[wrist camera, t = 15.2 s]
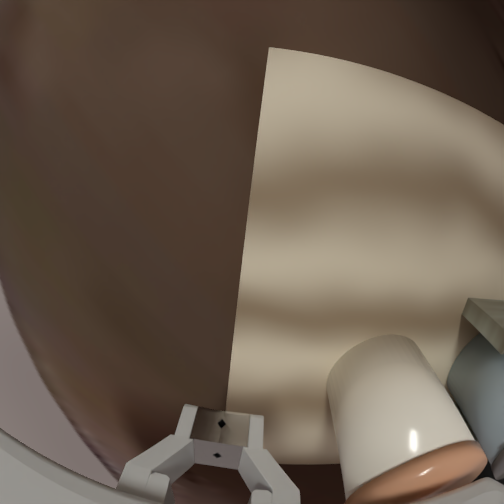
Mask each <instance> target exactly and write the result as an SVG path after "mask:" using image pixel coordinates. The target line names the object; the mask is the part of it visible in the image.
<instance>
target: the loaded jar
mask: <svg viewBox="0 0 504 504" xmlns="http://www.w3.org/2000/svg"><path fill="white" fill-rule="evenodd" d="M447 387H448V389H449V391H450V393H451V394H452V396H453V397H454V399H455V401H456V402H457V404H458V406H459V407H460V409H461V411H462V413H463V414H464V416H465V418H466V419H467V421H468V423H469V425H470V426H471V428H472V430H473V432H474V434H475V435H476V437H477V439H478V441H479V443H480V445H481V447H482V449H483V450H484V452H485V454H486V456H487V458H488V460H489V462H490V464H491V471H492V473H493V475H494V477H495V479H496V480H501V479H503V478H504V354H500V353H499V352H498V350H497V349H496V348H495V347H494V346H493V345H492V344H491V343H490V342H489V341H488V340H487V339H486V338H485V337H484V336H483V335H482V334H481V333H479V334H478V335H477V336H476V337H474V338H473V339H472V340H471V341H470V342H469V343H468V344H467V345H466V346H465V347H464V348H463V350H462V351H461V352H460V354H459V355H458V356H457V358H456V359H455V361H454V363H453V365H452V367H451V369H450V371H449V374H448V378H447Z"/></svg>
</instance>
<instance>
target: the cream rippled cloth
mask: <svg viewBox="0 0 504 504" xmlns="http://www.w3.org/2000/svg"><path fill="white" fill-rule="evenodd" d="M479 333H481V334H482V335H483V336H484V337H485V338H486V339H487V340H488V341H489V342H490V343H491V344H492V345H493V346H494V347H495V348H496V349H497V350H498V352H499V353H500V354H504V125H503V124H501V123H500V122H498V121H496V120H495V119H493V118H491V117H489V116H488V115H486V114H484V113H482V112H480V111H478V110H477V109H475V108H473V107H471V106H469V105H467V104H465V103H463V102H461V101H459V100H457V99H454V98H452V97H450V96H448V95H446V94H443V93H441V92H439V91H436V90H434V89H432V88H429V87H427V86H424V85H422V84H419V83H416V82H414V81H411V80H408V79H406V78H403V77H400V76H397V75H394V74H391V73H388V72H385V71H381V70H378V69H375V68H371V67H368V66H364V65H361V64H357V63H353V62H349V61H345V60H341V59H336V58H332V57H327V56H322V55H317V54H311V53H306V52H300V51H293V50H286V49H279V48H270V47H269V53H268V60H267V68H266V75H265V83H264V90H263V98H262V106H261V113H260V121H259V129H258V137H257V145H256V153H255V161H254V169H253V177H252V185H251V193H250V201H249V209H248V217H247V226H246V234H245V242H244V251H243V259H242V268H241V277H240V285H239V294H238V303H237V311H236V320H235V329H234V338H233V347H232V356H231V365H230V374H229V384H228V393H227V402H226V411H229V412H237V413H246V414H253V415H262V416H264V435H263V449H267V450H268V451H269V453H270V454H271V455H272V457H273V458H274V459H275V461H276V462H277V463H278V464H340V459H339V453H338V447H337V441H336V436H335V430H334V425H333V419H332V414H331V409H330V404H329V399H328V394H327V387H326V384H327V378H328V375H329V373H330V370H331V369H332V367H333V365H334V364H335V363H336V362H337V360H338V359H339V358H340V357H341V356H342V355H343V354H345V353H346V352H347V351H348V350H350V349H351V348H352V347H354V346H356V345H357V344H359V343H361V342H363V341H365V340H368V339H370V338H373V337H377V336H381V335H391V334H394V335H401V336H405V337H408V338H410V339H411V340H413V341H414V342H415V343H416V344H417V346H418V347H419V349H420V350H421V352H422V353H423V355H424V356H425V358H426V359H427V361H428V362H429V364H430V365H431V367H432V368H433V370H434V371H435V373H436V375H437V376H438V378H439V379H440V381H441V383H442V384H443V386H444V387H445V389H446V391H447V392H448V394H449V396H450V397H451V399H452V401H453V402H454V404H455V406H456V407H457V409H458V411H459V413H460V414H461V416H462V418H463V420H464V421H465V423H466V425H467V427H468V429H469V430H470V432H471V434H472V436H473V438H474V440H475V441H477V442H479V441H478V439H477V437H476V435H475V434H474V432H473V430H472V428H471V426H470V425H469V423H468V421H467V419H466V418H465V416H464V414H463V413H462V411H461V409H460V407H459V406H458V404H457V402H456V401H455V399H454V397H453V396H452V394H451V393H450V391H449V389H448V387H447V378H448V374H449V371H450V369H451V367H452V365H453V363H454V361H455V359H456V358H457V356H458V355H459V354H460V352H461V351H462V350H463V348H464V347H465V346H466V345H467V344H468V343H469V342H470V341H471V340H472V339H473V338H474V337H476V336H477V335H478V334H479Z"/></svg>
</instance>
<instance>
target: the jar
mask: <svg viewBox="0 0 504 504" xmlns="http://www.w3.org/2000/svg"><path fill="white" fill-rule="evenodd" d="M326 387H327V394H328V399H329V404H330V409H331V414H332V419H333V425H334V430H335V436H336V441H337V447H338V453H339V459H340V465H341V471H342V477H343V484H344V490H345V497H346V501H345V503H344V504H411V503H414V502H418V501H422V500H425V499H428V498H432V497H435V496H438V495H441V494H444V493H447V492H449V491H452V490H455V489H457V488H460V487H463V486H465V485H467V484H470V483H471V482H472V481H473V480H474V479H476V478H477V476H478V475H479V474H480V473H481V472H482V471H483V469H484V468H485V466H486V464H487V460H488V459H487V457H486V455H485V453H484V451H483V449H482V447H481V445H480V443H479V442H477V441H475V440H474V438H473V436H472V434H471V432H470V430H469V429H468V427H467V425H466V423H465V421H464V420H463V418H462V416H461V414H460V413H459V411H458V409H457V407H456V406H455V404H454V402H453V401H452V399H451V397H450V396H449V394H448V392H447V391H446V389H445V387H444V386H443V384H442V383H441V381H440V379H439V378H438V376H437V375H436V373H435V371H434V370H433V368H432V367H431V365H430V364H429V362H428V361H427V359H426V358H425V356H424V355H423V353H422V352H421V350H420V349H419V347H418V346H417V344H416V343H415V342H414V341H413V340H411V339H410V338H408V337H405V336H401V335H394V334H391V335H381V336H377V337H373V338H370V339H368V340H365V341H363V342H361V343H359V344H357V345H356V346H354V347H352V348H351V349H350V350H348V351H347V352H346V353H345V354H343V355H342V356H341V357H340V358H339V359H338V360H337V362H336V363H335V364H334V365H333V367H332V369H331V370H330V373H329V375H328V378H327V384H326Z"/></svg>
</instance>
